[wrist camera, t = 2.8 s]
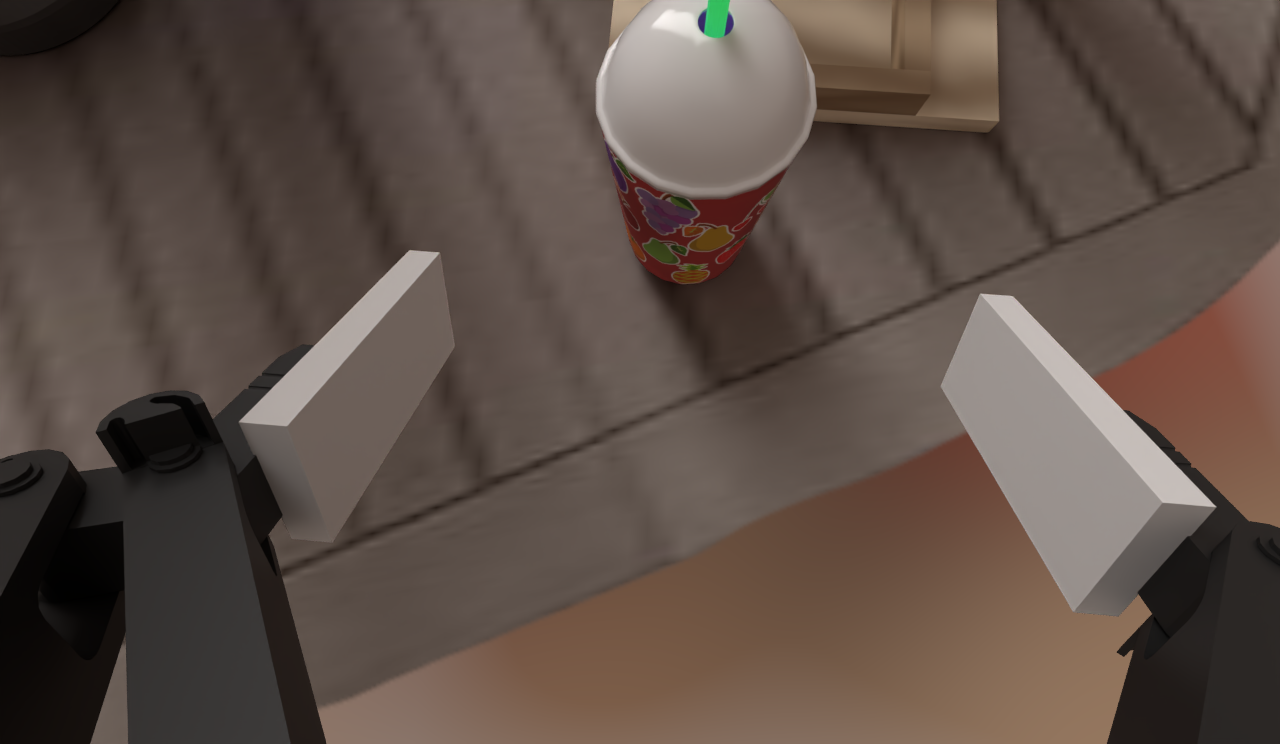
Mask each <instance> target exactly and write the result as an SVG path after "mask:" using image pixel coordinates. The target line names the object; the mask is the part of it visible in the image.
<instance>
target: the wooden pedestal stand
mask: <svg viewBox="0 0 1280 744" xmlns="http://www.w3.org/2000/svg"><path fill="white" fill-rule="evenodd" d="M650 1H651V0H614V3H613V13H612V22H611V31H610V41H609V48H610V47H611V45H612V44H613V43H614V42H615V40H616V39H617V38H618V37H619V35H620V34H621V33H622V32H623V30H624V29H625V28H626V26H627V25H629V23H630V22H631V21H632V20H633V18H634V17H635V16H636V15H637V13H638V12H639V11H640V10H641V8H642V7H644V6H645V5H646V4H647V3H648V2H650ZM771 1H772V2H773V3H774V4H775V5H776V6H777V7H778V9H779V10H780V11H781V12H782V13H783V14H784V15H785V16H786V17H787V19H788V20H789V21H790V23H791V24H792V26H793V28H794V30H795V32H796V35H797V37H798V39H799V42H800V44H801V46H802V48H803V50H804V52H805V54H806V57H807V59H808V61H809V64H810V66H811V68H812V71H813V73H814V75H815V85H816V98H817V110H816V113H815V117H814V120H813V121H818V122H833V123H848V124H864V125H879V126H894V127H909V128H924V129H939V130H954V131H970V132H985V133H988V132H989V131H990V130H991V129H992V128H993V127H994V126H995V125H996V124H997V123H998V122H999V90H998V46H997V3H996V0H771Z"/></svg>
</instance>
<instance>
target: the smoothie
mask: <svg viewBox="0 0 1280 744" xmlns="http://www.w3.org/2000/svg"><path fill="white" fill-rule="evenodd" d="M816 110H817V98H816V85H815V75H814V73H813V71H812V68H811V66H810V64H809V61H808V59H807V57H806V54H805V52H804V50H803V48H802V46H801V44H800V42H799V39H798V37H797V35H796V32H795V30H794V28H793V26H792V24H791V23H790V21H789V20H788V19H787V17H786V16H785V15H784V14H783V13H782V12H781V11H780V10H779V9H778V7H777V6H776V5H775V4H774V3H773V2H772V1H771V0H651V1H650V2H648V3H647V4H646V5H645V6H644V7H642V8H641V10H640V11H639V12H638V13H637V15H636V16H635V17H634V18H633V20H632V21H631V22H630V23H629V25H627V26H626V28H625V29H624V30H623V32H622V33H621V34H620V35H619V37H618V38H617V39H616V40H615V42H614V43H613V44H612V45H611V47H610V48H609V49H608V50H607V52H606V55H605V57H604V60H603V63H602V65H601V68H600V71H599V74H598V76H597V79H596V114H597V117H598V119H599V122H600V125H601V128H602V132H603V136H604V140H605V144H606V148H607V152H608V156H609V160H610V164H611V168H612V172H613V176H614V180H615V184H616V188H617V192H618V196H619V200H620V205H621V209H622V213H623V217H624V221H625V225H626V229H627V233H628V237H629V241H630V243H631V246H632V248H633V251H634V253H635V256H636V257H637V259H638V260H639V261H640V262H641V263H642V265H643V266H644V267H645V268H646V269H647V270H648V271H649V272H651V273H653V274H654V275H656V276H658V277H659V278H661V279H662V280H666V281H670V282H674V283H677V284H696V283H701V282H704V281H707V280H710V279H712V278H715V277H717V276H718V275H720V274H721V273H722V272H723V271H725V270H726V269H727V268H728V267H730V266H731V264H732V263H733V261H734V260H735V258H736V257H737V255H738V254H739V252H740V251H741V249H742V247H743V245H744V244H745V242H746V240H747V239H748V237H749V235H750V233H751V232H752V230H753V228H754V226H755V225H756V223H757V221H758V220H759V218H760V216H761V214H762V213H763V211H764V209H765V208H766V206H767V204H768V202H769V201H770V199H771V197H772V195H773V194H774V192H775V190H776V189H777V187H778V185H779V183H780V182H781V180H782V178H783V177H784V175H785V173H786V171H787V170H788V168H789V166H790V165H791V163H792V161H793V159H794V158H795V156H796V155H797V153H798V152H799V150H800V149H801V148H802V146H803V145H804V143H805V142H806V141H807V139H808V137H809V134H810V130H811V127H812V124H813V120H814V117H815V113H816Z"/></svg>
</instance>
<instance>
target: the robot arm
mask: <svg viewBox="0 0 1280 744" xmlns="http://www.w3.org/2000/svg"><path fill="white" fill-rule="evenodd" d="M117 1H118V0H0V55H22V54H29V53H35V52H39V51H43V50H46V49H49V48H52V47H55V46H58V45H60V44H62V43H65V42H67V41H69V40H71V39H73V38H75V37H76V36H78V35H80V34H81V33H83V32H85V31H86V30H88V29H89V28H90V27H92V26H93V25H94V24H96V23H97V22H98V21H99V20H100V19H101V18H103V17H104V16H105V15H106V14H107V13H108V12H109V11H110V10H111V9H112V7H113V6H114V5H115V4H116V3H117ZM454 347H455V344H454V337H453V331H452V325H451V318H450V312H449V306H448V300H447V293H446V287H445V281H444V274H443V268H442V262H441V256H440V253H439V252H426V251H413V250H409V251H408V252H407V253H406V254H405V255H404V256H403V257H402V258H401V259H400V260H399V261H398V262H397V263H396V264H395V265H394V266H393V267H392V268H391V269H390V270H389V271H388V272H387V273H386V274H385V275H384V276H383V277H382V278H381V279H380V280H379V281H378V282H377V283H376V284H375V285H374V286H373V287H372V288H371V289H370V290H369V291H368V292H367V293H366V295H365V296H364V297H363V298H362V299H361V300H360V301H359V302H358V303H357V304H356V305H355V306H354V307H353V308H352V309H351V310H350V311H349V312H348V313H347V314H346V315H345V316H344V317H343V318H342V319H341V320H340V321H339V322H338V323H337V324H336V325H335V326H334V327H333V328H332V329H331V330H330V331H329V332H328V333H327V334H326V335H325V336H324V337H323V338H322V339H321V340H320V341H319V342H318V343H317V344H316V345H315V346H314V345H301V346H299V347H297V348H295V349H293V350H291V351H289V352H288V353H286V354H284V355H282V356H280V357H278V358H277V359H276V360H275V361H274V362H273V363H272V364H271V365H270V366H269V367H268V368H267V369H266V370H265V371H263V372H262V376H258V377H257V378H256V379H255V380H254V381H253V382H252V383H251V384H250V385H249V388H248V389H244V390H243V391H242V392H241V393H240V394H239V395H238V396H237V397H236V398H235V399H234V400H233V401H232V402H231V403H230V404H229V405H227V406H226V407H225V408H224V409H223V410H222V411H221V412H220V413H219V414H218V415H217V416H216V417H215V418H214V419H212V417H211V415H210V413H209V411H208V409H207V407H206V405H205V403H204V401H203V400H202V399H201V397H200V396H199V395H198V394H195V393H192V392H189V391H165V392H159V393H154V394H149V395H146V396H143V397H140V398H138V399H135V400H132V401H129V402H128V403H126V404H124V405H122V406H120V407H118V408H117V409H115V410H113V411H112V412H111V413H109V414H108V415H107V416H106V417H105V418H104V419H103V420H102V421H101V422H100V424H99V426H98V428H97V431H96V434H97V435H98V437H99V438H100V440H101V442H102V443H103V445H104V446H105V448H106V449H107V451H108V452H109V454H110V456H111V457H112V459H113V460H114V462H115V463H116V465H117V466H118V467H111V468H103V469H96V470H88V471H81V472H78V471H77V469H76V468H75V467H74V465H73V464H72V462H71V461H70V459H69V458H68V457H67V456H66V455H65V454H64V453H63V452H59V451H54V450H49V449H48V450H36V451H28V452H24V453H20V454H17V455H11V456H8V457H5V458H2V459H0V744H90V742H91V739H92V736H93V733H94V730H95V727H96V723H97V720H98V717H99V714H100V711H101V708H102V705H103V701H104V698H105V695H106V692H107V689H108V686H109V683H110V680H111V676H112V673H113V670H114V667H115V664H116V661H117V658H118V654H119V651H120V648H121V645H122V642H123V639H124V636H125V632H126V663H127V706H128V744H326V740H325V736H324V732H323V729H322V725H321V721H320V717H319V714H318V710H317V706H316V702H315V699H314V695H313V691H312V688H311V684H310V680H309V676H308V673H307V669H306V665H305V661H304V658H303V654H302V650H301V646H300V643H299V639H298V635H297V631H296V628H295V624H294V620H293V616H292V613H291V609H290V605H289V601H288V598H287V594H286V590H285V586H284V583H283V579H282V575H281V571H280V568H279V564H278V560H277V556H276V553H275V549H274V546H273V544H272V542H271V539H270V537H269V535H268V534H269V533H270V532H271V530H272V529H273V528H274V526H275V525H276V524H277V522H278V521H279V520H280V518H281V517H282V520H283V522H284V524H285V526H286V528H287V531H288V533H289V535H290V537H291V539H297V540H308V541H319V542H329V543H333V541H334V540H335V538H336V536H337V535H338V533H339V532H340V530H341V528H342V527H343V525H344V524H345V522H346V520H347V519H348V517H349V516H350V514H351V512H352V511H353V509H354V508H355V506H356V504H357V503H358V501H359V500H360V498H361V496H362V495H363V493H364V492H365V490H366V488H367V487H368V485H369V484H370V482H371V480H372V479H373V477H374V476H375V474H376V472H377V471H378V469H379V468H380V466H381V464H382V463H383V461H384V460H385V458H386V456H387V455H388V453H389V452H390V450H391V448H392V447H393V445H394V444H395V442H396V440H397V439H398V437H399V436H400V434H401V432H402V431H403V429H404V428H405V426H406V424H407V423H408V421H409V420H410V418H411V416H412V415H413V413H414V412H415V410H416V408H417V407H418V405H419V404H420V402H421V400H422V399H423V397H424V396H425V394H426V392H427V391H428V389H429V388H430V386H431V384H432V383H433V381H434V380H435V378H436V376H437V375H438V373H439V372H440V370H441V368H442V367H443V365H444V363H445V362H446V360H447V359H448V357H449V355H450V354H451V352H452V351H453V349H454ZM941 388H942V390H943V391H944V393H945V395H946V396H947V398H948V400H949V401H950V403H951V405H952V407H953V408H954V410H955V412H956V413H957V415H958V417H959V418H960V420H961V422H962V424H963V425H964V427H965V429H966V430H967V432H968V434H969V435H970V437H971V439H972V441H973V442H974V444H975V446H976V447H977V449H978V451H979V452H980V454H981V456H982V458H983V459H984V461H985V463H986V464H987V466H988V468H989V469H990V471H991V473H992V474H993V476H994V478H995V480H996V481H997V483H998V485H999V486H1000V488H1001V490H1002V491H1003V493H1004V495H1005V497H1006V498H1007V500H1008V502H1009V504H1010V505H1011V507H1012V509H1013V510H1014V512H1015V514H1016V515H1017V517H1018V519H1019V521H1020V522H1021V524H1022V525H1023V527H1024V529H1025V530H1026V532H1027V534H1028V536H1029V538H1030V539H1031V541H1032V543H1033V544H1034V546H1035V548H1036V549H1037V551H1038V553H1039V555H1040V556H1041V558H1042V559H1043V561H1044V563H1045V565H1046V566H1047V568H1048V570H1049V572H1050V573H1051V575H1052V576H1053V578H1054V580H1055V582H1056V583H1057V585H1058V587H1059V588H1060V590H1061V592H1062V594H1063V595H1064V597H1065V599H1066V600H1067V602H1068V603H1069V606H1070V607H1071V609H1072V611H1073V612H1077V613H1088V614H1098V615H1109V616H1119V615H1120V614H1121V613H1122V612H1123V611H1124V610H1125V609H1126V608H1127V607H1128V605H1129V604H1130V603H1131V602H1132V601H1133V600H1134V599H1135V598H1136V596H1137V595H1138V594H1139V595H1140V597H1141V598H1142V600H1143V601H1144V603H1145V604H1146V605H1147V607H1148V608H1149V610H1150V611H1151V613H1152V615H1151V616H1150V617H1149V618H1148V619H1147V620H1146V621H1145V622H1144V623H1143V624H1142V625H1141V626H1140V627H1139V628H1138V629H1137V630H1136V632H1135V633H1134V634H1133V635H1132V636H1131V637H1130V638H1129V639H1128V640H1127V641H1126V642H1125V643H1124V644H1123V645H1122V646H1121V648H1120V649H1119V650H1118V651H1117V653H1119V654H1120V655H1122V656H1123V657H1124V656H1125V655H1126V654H1127V653H1128V652H1129V651H1130V650H1134V651H1133V654H1132V658H1131V661H1130V665H1129V668H1128V672H1127V675H1126V679H1125V682H1124V686H1123V689H1122V693H1121V696H1120V700H1119V703H1118V707H1117V711H1116V714H1115V717H1114V721H1113V724H1112V728H1111V731H1110V735H1109V738H1108V742H1107V744H1280V528H1278V527H1275V526H1272V525H1270V524H1264V523H1257V522H1251V521H1250V522H1249V521H1248V520H1247V519H1246V518H1245V517H1244V516H1243V515H1242V514H1241V513H1240V512H1239V511H1238V510H1237V509H1236V508H1235V507H1234V506H1233V505H1232V504H1231V503H1230V502H1229V501H1228V500H1227V499H1226V498H1225V497H1224V496H1223V495H1222V494H1221V493H1220V492H1219V491H1218V490H1217V489H1216V488H1215V487H1214V486H1213V485H1212V484H1211V483H1210V482H1209V481H1208V480H1207V479H1206V478H1205V477H1204V476H1203V475H1202V474H1201V473H1200V472H1199V471H1198V470H1197V469H1196V468H1191V463H1190V462H1189V461H1188V460H1187V459H1186V458H1185V457H1184V456H1183V455H1182V454H1181V453H1180V452H1176V451H1175V447H1174V446H1173V445H1172V444H1171V443H1170V442H1169V441H1168V440H1167V439H1166V438H1165V437H1164V436H1163V435H1162V434H1161V433H1160V432H1159V431H1158V430H1157V429H1156V428H1154V427H1153V426H1151V425H1150V424H1148V423H1147V422H1145V421H1144V420H1142V419H1140V418H1139V417H1138V416H1136V415H1134V414H1133V413H1131V412H1130V411H1127V410H1122V409H1121V408H1120V407H1119V406H1118V405H1117V404H1116V403H1115V402H1114V401H1113V400H1112V398H1111V397H1110V396H1109V395H1108V394H1107V393H1106V392H1105V391H1104V390H1103V389H1102V388H1101V387H1100V386H1099V385H1098V384H1097V383H1096V382H1095V381H1094V380H1093V379H1092V378H1091V377H1090V376H1089V375H1088V374H1087V373H1086V372H1085V370H1084V369H1083V368H1082V367H1081V366H1080V365H1079V364H1078V363H1077V362H1076V361H1075V360H1074V359H1073V358H1072V357H1071V356H1070V355H1069V354H1068V353H1067V352H1066V351H1065V350H1064V349H1063V348H1062V347H1061V346H1060V345H1059V344H1058V343H1057V341H1056V340H1055V339H1054V338H1053V337H1052V336H1051V335H1050V334H1049V333H1048V332H1047V331H1046V330H1045V329H1044V328H1043V327H1042V326H1041V325H1040V324H1039V323H1038V322H1037V321H1036V320H1035V319H1034V318H1033V317H1032V316H1031V315H1030V314H1029V313H1028V311H1027V310H1026V309H1025V308H1024V307H1023V306H1022V305H1021V304H1020V303H1019V302H1018V301H1017V300H1016V299H1015V298H1014V297H1013V296H1004V295H991V294H980V295H979V298H978V300H977V302H976V305H975V307H974V309H973V312H972V314H971V316H970V319H969V321H968V323H967V326H966V328H965V330H964V333H963V335H962V337H961V340H960V342H959V344H958V347H957V349H956V351H955V354H954V356H953V358H952V361H951V363H950V365H949V368H948V370H947V372H946V375H945V377H944V379H943V382H942V384H941Z"/></svg>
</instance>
